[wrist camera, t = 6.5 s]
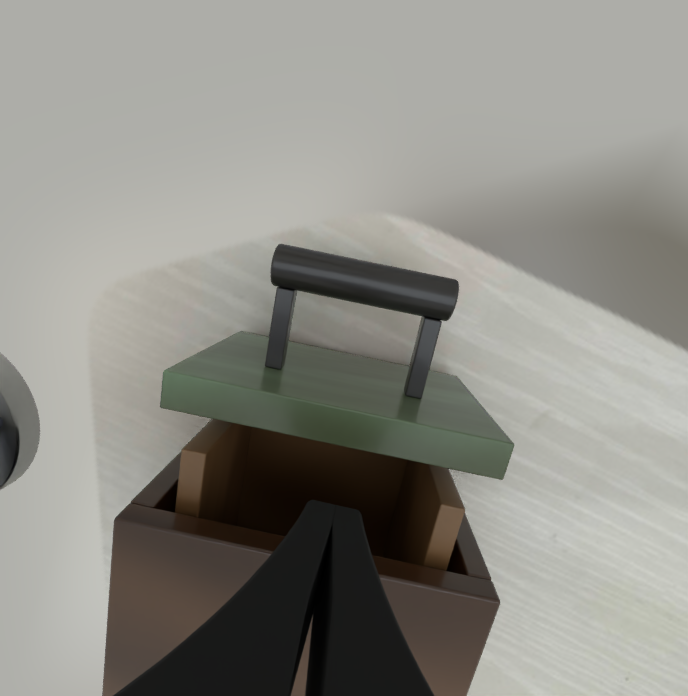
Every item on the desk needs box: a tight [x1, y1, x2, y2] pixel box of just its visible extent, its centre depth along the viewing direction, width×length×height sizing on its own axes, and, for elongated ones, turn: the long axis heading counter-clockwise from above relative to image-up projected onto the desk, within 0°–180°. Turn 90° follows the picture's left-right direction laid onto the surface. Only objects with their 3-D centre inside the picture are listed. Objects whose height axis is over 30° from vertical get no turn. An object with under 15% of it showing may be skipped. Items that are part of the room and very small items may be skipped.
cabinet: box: [102, 451, 500, 696], centre depth 16 cm, size 13×12×9 cm
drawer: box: [160, 244, 514, 571], centre depth 15 cm, size 16×10×7 cm, turn 169°
